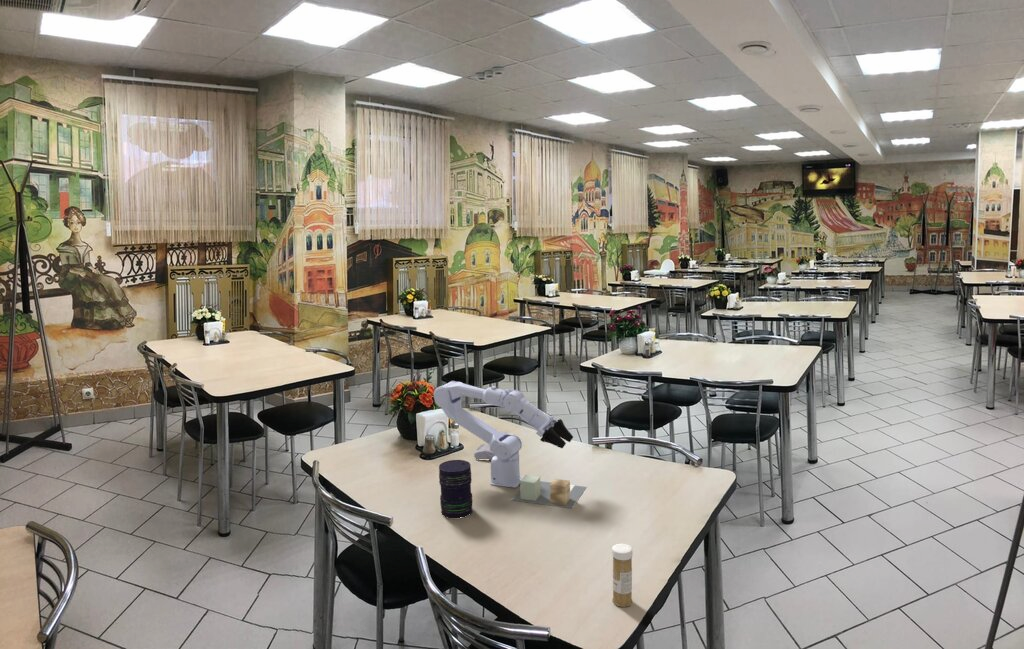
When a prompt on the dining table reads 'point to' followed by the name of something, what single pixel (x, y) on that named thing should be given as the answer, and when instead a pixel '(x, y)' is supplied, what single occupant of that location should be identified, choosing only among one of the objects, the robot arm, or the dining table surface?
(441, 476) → the storage jar
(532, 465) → the dining table surface
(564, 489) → the maple block
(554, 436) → the robot arm
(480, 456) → the stone block
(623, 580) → the sprinkles bottle
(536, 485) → the sage block
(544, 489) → the slate mat
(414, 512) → the dining table surface
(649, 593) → the dining table surface
